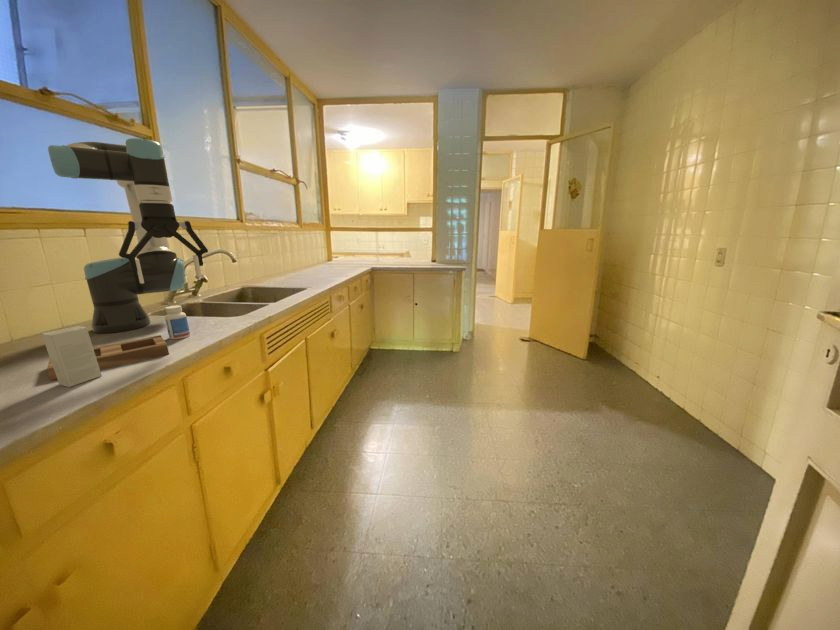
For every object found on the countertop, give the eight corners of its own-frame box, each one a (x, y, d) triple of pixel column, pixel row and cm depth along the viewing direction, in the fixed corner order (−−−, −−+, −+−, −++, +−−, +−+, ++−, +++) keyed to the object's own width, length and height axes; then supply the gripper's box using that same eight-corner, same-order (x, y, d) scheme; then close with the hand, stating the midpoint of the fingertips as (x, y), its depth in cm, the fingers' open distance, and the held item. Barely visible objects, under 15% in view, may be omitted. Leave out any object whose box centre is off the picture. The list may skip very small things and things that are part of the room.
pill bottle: (194, 334, 107) (188, 304, 104) (181, 339, 101) (174, 309, 99) (178, 334, 107) (172, 304, 105) (164, 339, 102) (157, 308, 99)
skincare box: (92, 373, 79) (77, 325, 76) (102, 376, 77) (88, 327, 74) (57, 384, 73) (40, 333, 70) (67, 388, 72) (50, 335, 68)
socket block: (54, 366, 83) (50, 355, 82) (162, 344, 98) (160, 335, 97) (50, 380, 75) (47, 368, 75) (169, 353, 90) (166, 344, 90)
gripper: (93, 200, 80) (115, 287, 85) (211, 203, 96) (223, 276, 102) (92, 201, 85) (113, 283, 91) (205, 204, 101) (216, 273, 107)
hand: (171, 279), depth 96 cm, fingers open, 13 cm apart
